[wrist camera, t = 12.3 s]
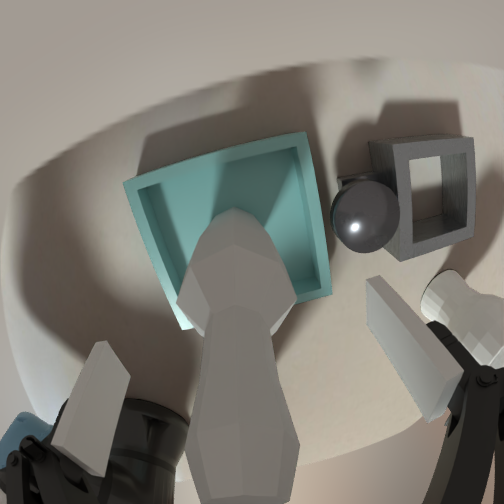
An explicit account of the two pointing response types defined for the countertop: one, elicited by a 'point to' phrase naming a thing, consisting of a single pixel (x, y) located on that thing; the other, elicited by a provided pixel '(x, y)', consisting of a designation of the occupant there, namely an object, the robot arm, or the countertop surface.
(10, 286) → the countertop surface
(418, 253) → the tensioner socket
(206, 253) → the grey faceted bottle
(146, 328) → the countertop surface
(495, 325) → the cup
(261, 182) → the tray
